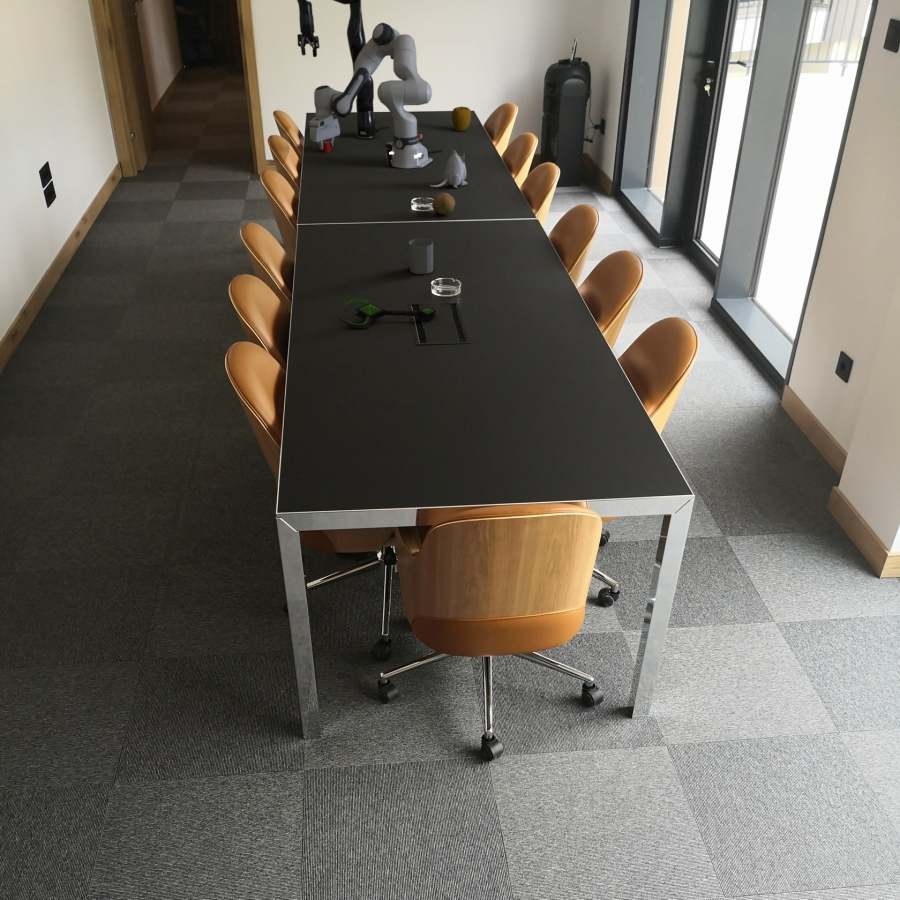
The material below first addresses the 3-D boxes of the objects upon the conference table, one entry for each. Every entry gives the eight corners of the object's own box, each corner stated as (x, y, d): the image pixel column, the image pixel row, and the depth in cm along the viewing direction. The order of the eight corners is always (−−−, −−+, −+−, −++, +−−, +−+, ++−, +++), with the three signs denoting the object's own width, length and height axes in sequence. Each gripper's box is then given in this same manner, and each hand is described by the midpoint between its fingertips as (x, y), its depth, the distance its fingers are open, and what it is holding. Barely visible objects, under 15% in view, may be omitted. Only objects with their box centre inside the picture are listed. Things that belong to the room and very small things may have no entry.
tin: (322, 152, 449) (321, 143, 447) (322, 150, 452) (321, 141, 450) (330, 152, 450) (330, 143, 447) (330, 150, 453) (329, 141, 451)
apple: (471, 132, 486) (471, 108, 479) (451, 132, 486) (451, 108, 479) (470, 128, 495) (471, 104, 488) (452, 128, 495) (452, 104, 488)
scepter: (436, 292, 272) (340, 290, 270) (437, 322, 265) (338, 320, 263) (435, 305, 277) (341, 303, 275) (436, 335, 270) (339, 333, 268)
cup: (409, 265, 311) (408, 238, 306) (432, 265, 312) (431, 238, 307) (410, 274, 304) (409, 246, 299) (433, 273, 305) (433, 246, 299)
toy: (472, 184, 399) (472, 151, 391) (436, 195, 384) (436, 161, 376) (457, 180, 404) (458, 147, 396) (422, 191, 389) (421, 157, 381)
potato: (453, 208, 369) (453, 189, 365) (456, 218, 357) (456, 199, 353) (431, 208, 368) (430, 189, 364) (432, 218, 356) (432, 199, 352)
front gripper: (332, 115, 451) (334, 142, 459) (306, 122, 437) (309, 151, 444) (342, 116, 449) (343, 144, 456) (316, 124, 434) (318, 152, 442)
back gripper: (292, 22, 464) (295, 55, 473) (311, 24, 457) (313, 58, 465) (302, 21, 469) (305, 54, 478) (321, 23, 462) (323, 56, 470)
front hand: (326, 147), depth 450 cm, fingers open, 5 cm apart
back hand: (309, 56), depth 472 cm, fingers open, 8 cm apart
